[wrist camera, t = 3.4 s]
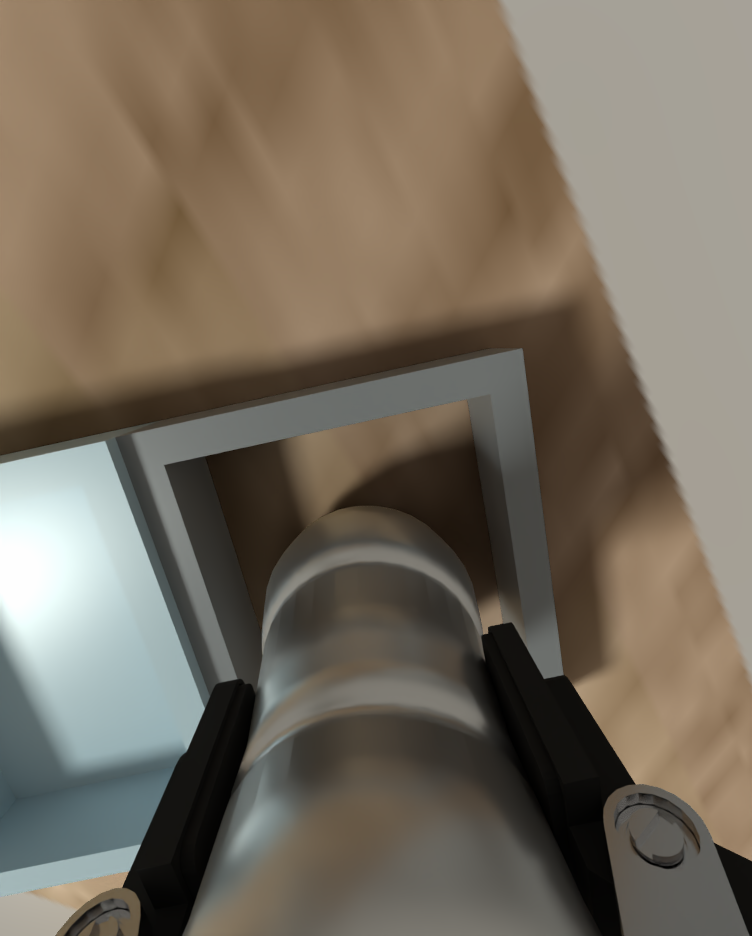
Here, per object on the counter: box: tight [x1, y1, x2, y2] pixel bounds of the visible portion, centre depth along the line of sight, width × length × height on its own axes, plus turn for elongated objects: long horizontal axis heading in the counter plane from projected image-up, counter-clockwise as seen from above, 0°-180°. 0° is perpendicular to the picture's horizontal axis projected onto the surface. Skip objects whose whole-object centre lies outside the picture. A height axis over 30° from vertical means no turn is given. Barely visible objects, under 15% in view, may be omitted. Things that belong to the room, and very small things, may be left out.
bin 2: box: [115, 348, 563, 696], centre depth 15 cm, size 14×11×3 cm
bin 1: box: [0, 421, 210, 897], centre depth 15 cm, size 14×11×4 cm
